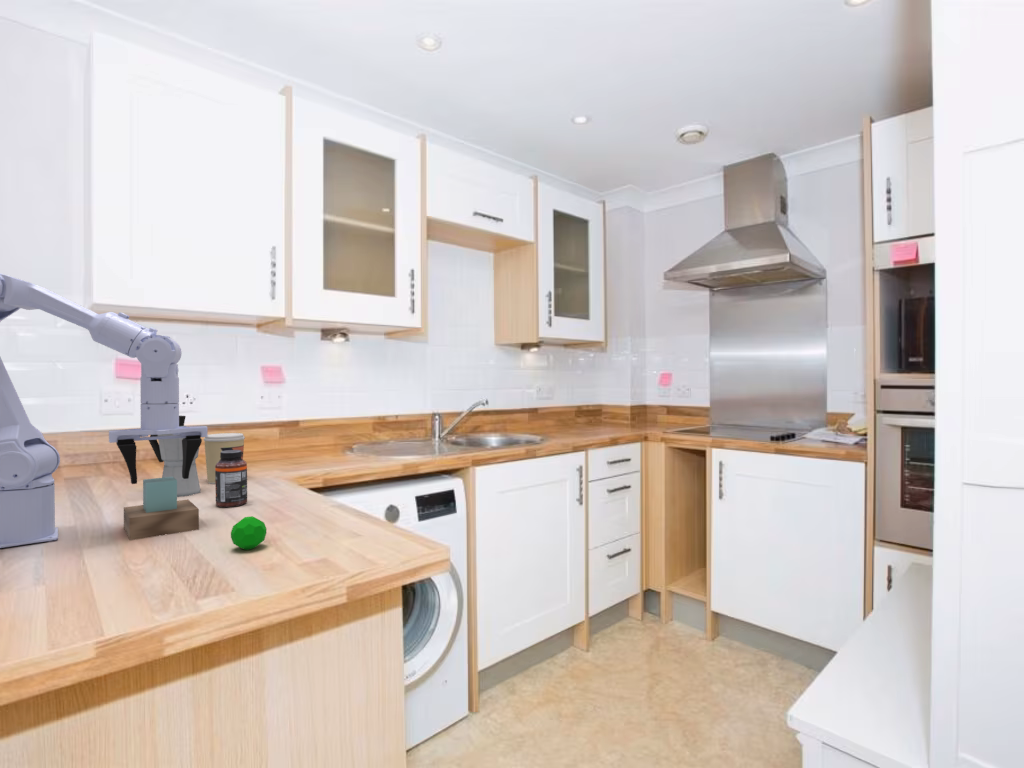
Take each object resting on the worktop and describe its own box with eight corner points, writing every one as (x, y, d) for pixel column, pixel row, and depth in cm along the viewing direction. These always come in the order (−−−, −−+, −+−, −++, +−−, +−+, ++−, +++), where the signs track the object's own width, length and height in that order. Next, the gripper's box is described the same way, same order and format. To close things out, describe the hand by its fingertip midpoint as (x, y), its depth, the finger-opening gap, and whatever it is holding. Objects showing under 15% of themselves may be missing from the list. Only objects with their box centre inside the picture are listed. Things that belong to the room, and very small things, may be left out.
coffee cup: (227, 485, 135) (227, 437, 135) (195, 483, 137) (194, 436, 137) (252, 478, 144) (252, 433, 144) (222, 477, 146) (221, 432, 146)
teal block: (146, 512, 93) (146, 483, 93) (143, 507, 96) (143, 479, 96) (177, 508, 96) (176, 480, 96) (172, 504, 99) (172, 476, 99)
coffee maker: (217, 491, 128) (217, 414, 128) (186, 498, 120) (185, 417, 120) (167, 487, 132) (167, 413, 132) (133, 495, 124) (133, 416, 124)
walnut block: (129, 542, 89) (129, 518, 89) (123, 529, 97) (123, 507, 97) (198, 531, 96) (198, 508, 96) (188, 520, 103) (188, 499, 103)
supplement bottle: (217, 502, 116) (217, 449, 116) (248, 500, 118) (248, 448, 118) (213, 509, 111) (213, 453, 111) (245, 506, 113) (245, 452, 113)
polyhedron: (226, 548, 85) (226, 517, 85) (259, 541, 89) (259, 512, 89) (237, 555, 82) (237, 523, 82) (271, 548, 85) (271, 517, 85)
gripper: (110, 405, 88) (111, 489, 88) (211, 403, 98) (211, 478, 98) (107, 404, 94) (108, 482, 94) (203, 401, 103) (203, 473, 103)
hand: (160, 480), depth 96 cm, fingers open, 7 cm apart
